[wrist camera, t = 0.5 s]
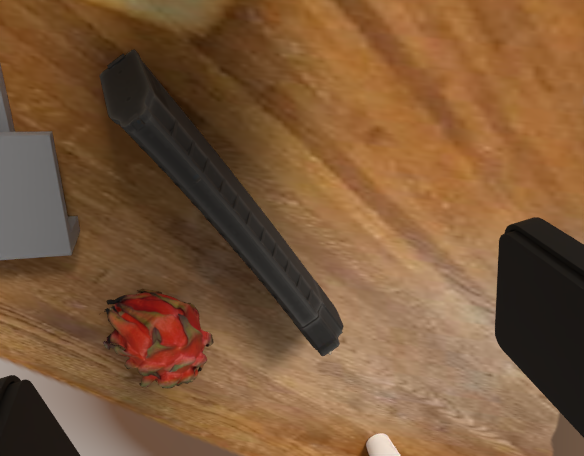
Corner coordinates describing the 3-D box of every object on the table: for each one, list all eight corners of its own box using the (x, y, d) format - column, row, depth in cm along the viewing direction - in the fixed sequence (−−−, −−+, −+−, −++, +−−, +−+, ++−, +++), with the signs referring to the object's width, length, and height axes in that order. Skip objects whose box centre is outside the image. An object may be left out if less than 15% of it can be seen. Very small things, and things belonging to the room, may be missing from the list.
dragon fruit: (197, 342, 52) (119, 271, 48) (246, 331, 47) (163, 249, 43) (156, 411, 47) (63, 336, 42) (207, 407, 41) (107, 321, 37)
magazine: (51, 58, 27) (338, 422, 34) (95, 24, 27) (375, 397, 34) (130, 82, 44) (311, 322, 51) (158, 61, 44) (335, 305, 51)
